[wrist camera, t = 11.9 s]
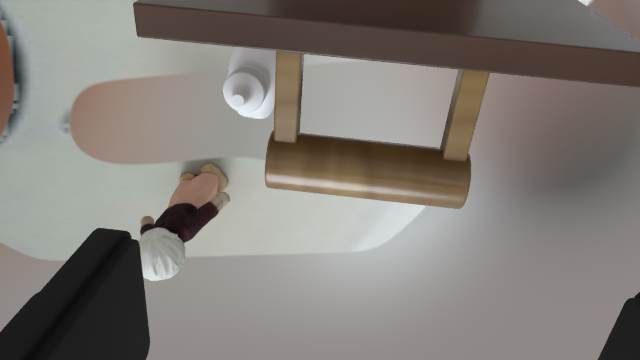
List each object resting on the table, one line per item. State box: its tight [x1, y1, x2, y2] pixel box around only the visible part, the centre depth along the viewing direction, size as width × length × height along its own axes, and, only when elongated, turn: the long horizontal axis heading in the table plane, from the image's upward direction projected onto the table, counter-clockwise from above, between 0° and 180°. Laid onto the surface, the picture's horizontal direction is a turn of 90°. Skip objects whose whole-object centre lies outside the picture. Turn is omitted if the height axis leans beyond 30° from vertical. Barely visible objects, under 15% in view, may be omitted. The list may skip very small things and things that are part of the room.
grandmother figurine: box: [139, 163, 230, 281], centre depth 38 cm, size 8×4×13 cm, turn 124°
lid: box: [133, 0, 640, 209], centre depth 20 cm, size 17×12×6 cm
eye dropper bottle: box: [223, 47, 276, 119], centre depth 32 cm, size 4×6×12 cm
